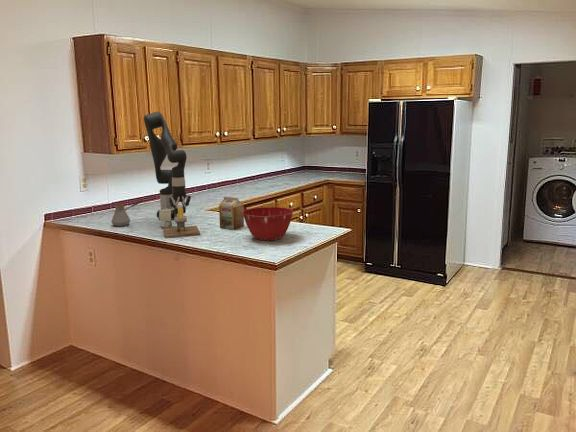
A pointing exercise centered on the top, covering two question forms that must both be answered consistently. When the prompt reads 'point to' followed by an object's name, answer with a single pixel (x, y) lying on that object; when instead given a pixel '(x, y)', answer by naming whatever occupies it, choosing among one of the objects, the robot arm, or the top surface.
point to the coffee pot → (122, 215)
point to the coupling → (180, 215)
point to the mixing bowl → (268, 222)
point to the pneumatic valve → (166, 216)
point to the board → (177, 233)
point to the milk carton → (231, 214)
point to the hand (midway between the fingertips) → (180, 213)
